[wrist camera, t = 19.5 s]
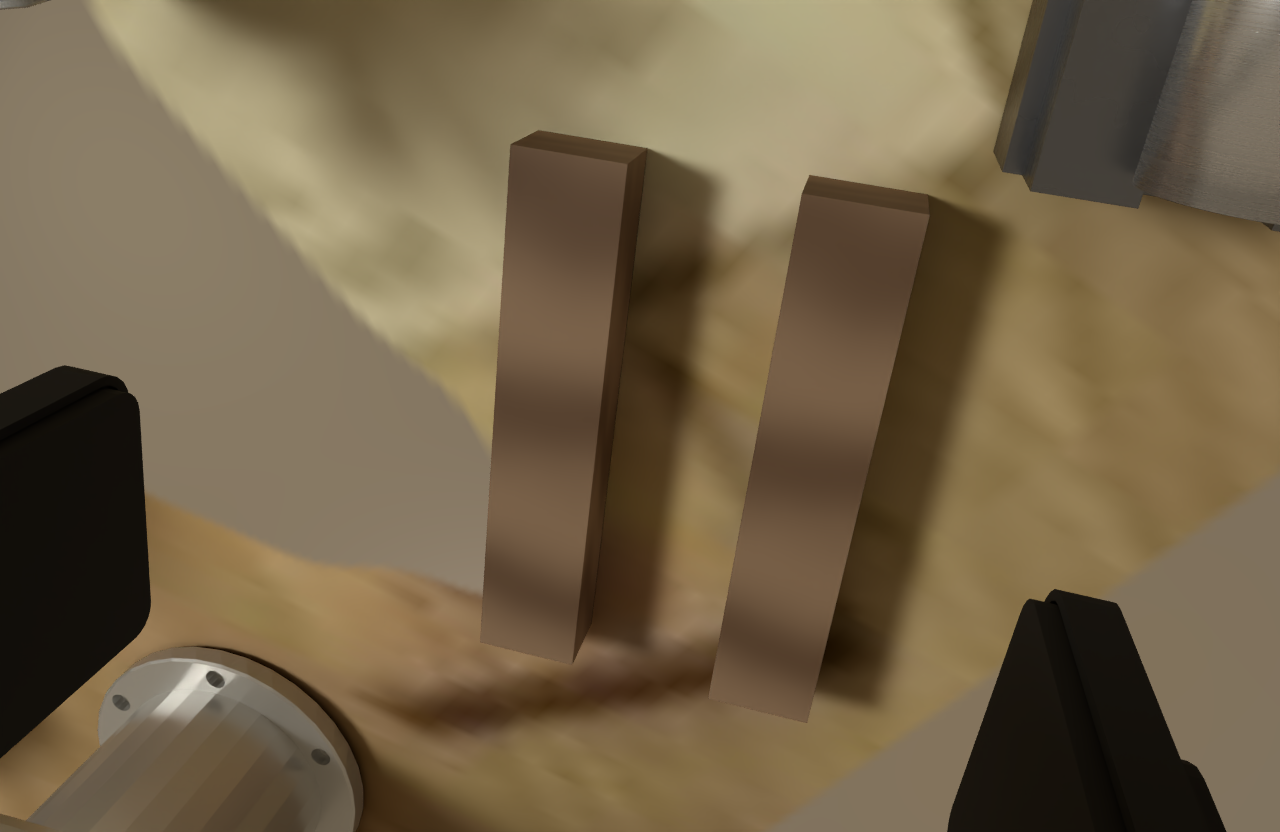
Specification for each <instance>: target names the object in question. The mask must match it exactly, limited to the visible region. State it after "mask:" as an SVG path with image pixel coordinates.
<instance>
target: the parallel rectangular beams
mask: <svg viewBox="0 0 1280 832" xmlns="http://www.w3.org/2000/svg"><path fill="white" fill-rule="evenodd" d="M646 156H647V148H642V147H636V146H630V145H624V144H618V143H612V142H606V141H600V140H594V139H588V138H582V137H576V136H570V135H564V134H558V133H552V132H545V131H539V130H538V131H536V132H534V133H532V134H530V135H528V136H526V137H524V138H522V139H520V140H518V141H517V142H515V143H513V144H511V147H510V163H509V179H508V196H507V212H506V228H505V244H504V261H503V277H502V293H501V310H500V326H499V342H498V358H497V375H496V391H495V407H494V424H493V440H492V456H491V472H490V490H489V506H488V522H487V539H486V554H485V571H484V587H483V603H482V619H481V635H480V642H481V643H485V644H489V645H493V646H497V647H501V648H505V649H509V650H513V651H517V652H521V653H525V654H529V655H533V656H537V657H542V658H546V659H550V660H554V661H558V662H562V663H566V664H570V665H572V664H573V662H574V660H575V658H576V656H577V653H578V651H579V649H580V647H581V645H582V643H583V640H584V638H585V636H586V634H587V632H588V629H589V627H590V625H591V622H592V614H593V605H594V597H595V588H596V580H597V571H598V563H599V554H600V546H601V538H602V529H603V521H604V512H605V504H606V495H607V487H608V478H609V470H610V461H611V453H612V444H613V436H614V427H615V419H616V411H617V402H618V394H619V385H620V377H621V368H622V360H623V351H624V343H625V334H626V326H627V317H628V309H629V300H630V292H631V284H632V275H633V267H634V258H635V250H636V241H637V233H638V224H639V216H640V207H641V199H642V190H643V182H644V173H645V165H646ZM929 217H930V211H929V201H928V195H927V194H921V193H915V192H908V191H902V190H896V189H890V188H884V187H878V186H872V185H866V184H860V183H854V182H848V181H842V180H836V179H830V178H824V177H818V176H812V175H809V178H808V180H807V183H806V185H805V187H804V190H803V192H802V196H801V202H800V207H799V213H798V218H797V223H796V229H795V234H794V240H793V245H792V250H791V256H790V261H789V266H788V272H787V277H786V283H785V288H784V293H783V299H782V304H781V310H780V315H779V320H778V326H777V331H776V337H775V342H774V347H773V353H772V358H771V364H770V369H769V374H768V380H767V385H766V390H765V396H764V401H763V407H762V412H761V417H760V423H759V428H758V434H757V439H756V444H755V450H754V455H753V461H752V466H751V471H750V477H749V482H748V488H747V493H746V498H745V504H744V509H743V514H742V520H741V525H740V531H739V536H738V541H737V547H736V552H735V558H734V563H733V568H732V574H731V579H730V585H729V590H728V595H727V601H726V606H725V612H724V617H723V622H722V628H721V633H720V638H719V644H718V649H717V655H716V660H715V665H714V671H713V676H712V682H711V687H710V692H709V698H708V699H711V700H715V701H719V702H724V703H728V704H732V705H736V706H740V707H744V708H748V709H752V710H756V711H760V712H764V713H768V714H772V715H776V716H780V717H784V718H788V719H792V720H796V721H800V722H804V723H807V722H808V718H809V713H810V709H811V705H812V701H813V697H814V693H815V689H816V684H817V680H818V676H819V672H820V668H821V664H822V660H823V655H824V651H825V647H826V643H827V639H828V635H829V631H830V626H831V622H832V618H833V614H834V610H835V606H836V602H837V597H838V593H839V589H840V585H841V581H842V577H843V573H844V569H845V564H846V560H847V556H848V552H849V548H850V544H851V540H852V535H853V531H854V527H855V523H856V519H857V515H858V511H859V506H860V502H861V498H862V494H863V490H864V486H865V482H866V477H867V473H868V469H869V465H870V461H871V457H872V453H873V448H874V444H875V440H876V436H877V432H878V428H879V424H880V419H881V415H882V411H883V407H884V403H885V399H886V395H887V391H888V386H889V382H890V378H891V374H892V370H893V366H894V362H895V357H896V353H897V349H898V345H899V341H900V337H901V333H902V328H903V324H904V320H905V316H906V312H907V308H908V304H909V299H910V295H911V291H912V287H913V283H914V279H915V275H916V270H917V266H918V262H919V258H920V254H921V250H922V246H923V242H924V237H925V233H926V229H927V225H928V221H929Z"/></svg>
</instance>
